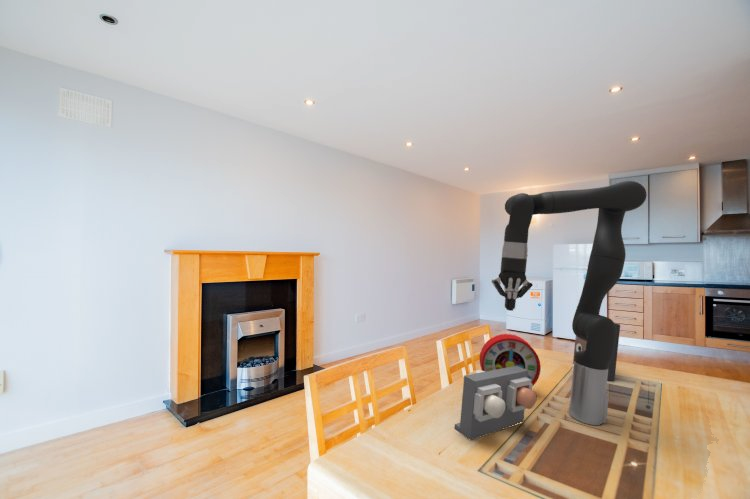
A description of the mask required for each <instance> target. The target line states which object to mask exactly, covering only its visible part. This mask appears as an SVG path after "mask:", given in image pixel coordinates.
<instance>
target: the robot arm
mask: <svg viewBox="0 0 750 499" xmlns="http://www.w3.org/2000/svg"><path fill="white" fill-rule="evenodd" d="M646 199H647V190H646V188H645V187H644V186H643V185H642V184H641V183H639V182H637V181H633V180H626V181H620V182H618V183H616V182H615V183H614V184H611V185H608V186H603V187H602V186H601V187H596V188H587V189H586V188H584V189H571V190H569V189H568V190H566V189H565V190H556V191H555V190H554V191H544V192H541V193H540V192H539V193H537V194H536V193H535V194H527V193H524V192H521V193H517V194H514V195H512V196H510V197H508V199H506V201H505V203H504V210H505V212H506V213H507V214H508V215H509V219H508V223H507V225H505V226H506V227H505V229H504V237H503V244H502V245H503V246H502V251H501V260H500V261H501V262H500V273H499V274H498V277H496V278H494V279H491V284H492V285H493V287H494V288H495V290H496V291H497V293H498V294H499V295H500V296H502V297H503V298H504V308H506V311H511V312H512V311H513V312H514V309H515V308H516V300H517V299H519V298H520V299H521V298H522V297H523V296H525V294H526V293H528V292H529V290H530V289H531V288H532V287H533V285H534V284H533V283H532V282H529V280H527V276H526V272H527V261H528V251H529V250H528V248H529V247H528V240H529V230H530V226H531V223H532V219H533V216H535V215H552V214H553V215H554V214H564V213H574V212H579V211H585V210H595V209H598V214H597V224H596V228H595V233H594V237H593V243H592V247H591V252H590V256H589V258H588V263H587V270H586V275H585V279H584V282H583V287H582V291H581V295H580V298H579V300H578V304H577V306H576V309H575V312H574V314H573V319H572V322H571V323H572V325H571V326H572V332H573V334H574V335H575V337H576V336H577V337H579V338H581V339H583V340H585V341H587V344H586V349H585V351H578V352H576V353H575V357H574V356H573V358H574V366H573V368H572V370H573V371H572V377H571V378H572V379H571V388H570V397H569V398H570V400H569V405H568V406H569V407H568V408H569V409H568V414H569V415H570V416H571V417H572V418H574V419H575V420H577V421H578V422H580V423H584V424H587V425H591V426H592V425H593V426H599V425H600V424H601V425H603V424H607V419H608V418H607V417H608V408H609V398H610V393H609V392H608V391H607V385H608V381H607V377H608V368H609V363H610V362H611V360H612V358H613V353H614V347H615V341H616V326H615V324H614V323H615V322H614V321H613V320H612V319H611V318H609V317H607V316H604V315H601V314H600V311H601V307H602V303H603V301H604V299H605V297H606V296H607V294H608V293H609V292H610V291H611V290H612V288H614V286H616V284H617V283H618V282H619V280H620V278H621V277H622V275H623V274H622V273H623V270H624V265H625V261H626V248H625V242H624V240H623V239H624V238H623V234H622V229H623V228H622V227H623V222H624V217H625V215H626V212H630V211H634V210H637V209H638V208H640V207H641V206H643V205H644V203H645V201H646ZM501 284H502V285H503V286H504V288H503V287H502V286H501ZM521 286H522V287H521ZM602 423H603V424H602ZM601 425H600V426H601Z"/></svg>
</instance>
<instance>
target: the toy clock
mask: <svg viewBox="0 0 750 499" xmlns="http://www.w3.org/2000/svg"><path fill="white" fill-rule="evenodd" d="M479 365H480V369H481V371H485V372H486V371H491V370H497V369H502V368H507V367H513V366H519V367H521V368H523V369H526V370H528V378H529V379H531V384H533V385H532V387H533V386H535V384H536V383H537V382H538V380H539V378H540V375H541V367H542V366H541V365H542V364H541V361H540V358H539V355H538V354H537V352H536V351H535V350H534V348H533V347H532V346H531V344H529V343H528V342H527V341H526V340H525V339H524V338H522V337H520V336H518V335H515V334H511V333H502V334H498V335H495V336H493V337H491V338H490V339H488V340H487V341H486V342H485V343H484V344H483V345H482V347H481V351H480V352H479Z"/></svg>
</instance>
